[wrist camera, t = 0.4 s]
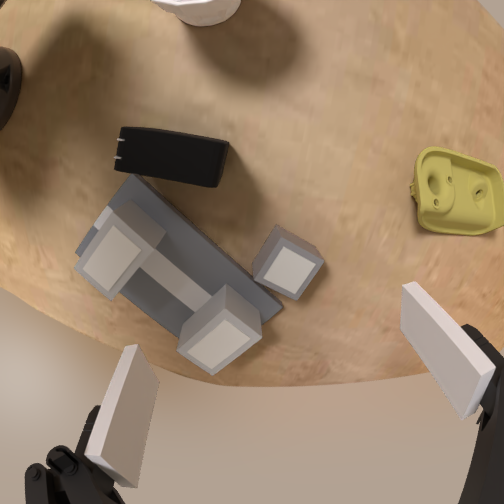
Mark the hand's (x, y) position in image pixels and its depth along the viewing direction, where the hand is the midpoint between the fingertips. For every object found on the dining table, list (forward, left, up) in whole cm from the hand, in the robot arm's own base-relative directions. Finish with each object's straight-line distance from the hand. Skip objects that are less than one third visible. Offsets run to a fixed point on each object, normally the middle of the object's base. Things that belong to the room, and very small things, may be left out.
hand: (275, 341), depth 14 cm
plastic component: (+17, +23, -26) cm, 39 cm away
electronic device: (-11, 0, -25) cm, 28 cm away
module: (+7, -1, -25) cm, 26 cm away
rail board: (-1, -13, -25) cm, 28 cm away
